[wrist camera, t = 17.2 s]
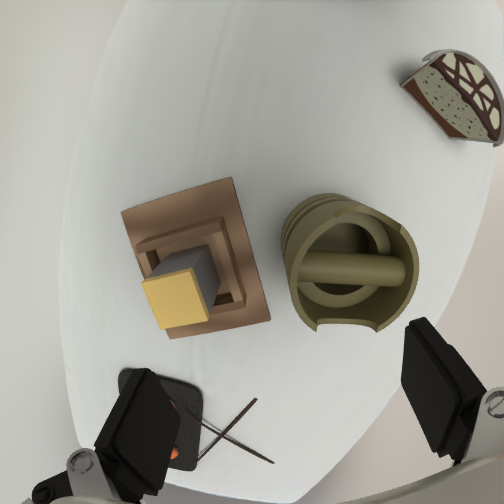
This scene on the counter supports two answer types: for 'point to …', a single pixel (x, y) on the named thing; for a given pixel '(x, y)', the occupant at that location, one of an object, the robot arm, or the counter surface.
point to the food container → (459, 96)
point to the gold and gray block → (183, 287)
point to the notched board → (199, 233)
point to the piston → (347, 263)
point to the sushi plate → (189, 423)
